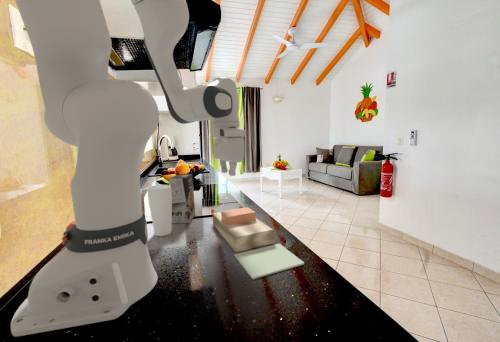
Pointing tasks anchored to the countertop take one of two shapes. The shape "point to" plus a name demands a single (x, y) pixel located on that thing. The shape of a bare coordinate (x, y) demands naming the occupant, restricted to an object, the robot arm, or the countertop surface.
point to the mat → (267, 260)
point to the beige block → (244, 233)
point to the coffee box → (182, 198)
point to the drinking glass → (161, 209)
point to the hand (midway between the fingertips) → (228, 174)
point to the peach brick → (238, 215)
